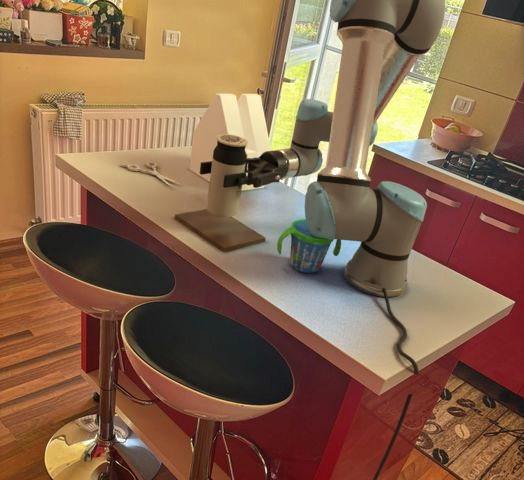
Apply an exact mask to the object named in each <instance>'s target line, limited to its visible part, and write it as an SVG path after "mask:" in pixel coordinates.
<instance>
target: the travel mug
mask: <svg viewBox="0 0 524 480" xmlns="http://www.w3.org/2000/svg"><path fill="white" fill-rule="evenodd" d="M216 139H217V146H216V147H215V149H214V151H213V159H212V168H211V176H210V182H209V186H208V194H207V202H206V209H207V210H208V211H209V212H210V213H212V214H214V215H216V216H220V217H235V216H237V215H238V213H239V208H240V201H241V195H242V191H241V189H242V185H239V186H233V187H228V188H224V187H223V183H224V176H225V175H231V174H237V173H244V170H245V164H246V158H247V155H246V152H245V148H246V145H247V144H248V142H247V140H245V139H244V138H242V137H239V136H235V135H229V134H221V135H218V136H217V137H216Z"/></svg>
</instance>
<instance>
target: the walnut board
mask: <svg viewBox="0 0 524 480" xmlns="http://www.w3.org/2000/svg"><path fill="white" fill-rule="evenodd" d="M174 219H175V220H176V221H178V222H179V223H180V224H181V225H183V226H185V227H186V228H188V229H189V230H191V231H192V232H194V233H195V234H197V235H198V236H199V237H202V238H203V239H204V240H206V241H207V242H209V243H210V244H212V245H213V246H214V247H215V248H217V249H219V250H221V251H222V252H223V253H224V252H228V251H233V250H236V249H237V250H238V249H242V248H245V247H249V246H254V245H257V244H261V243H264V242H266V236H264V235H262V234H261V233H259V232H257V231H256V230H254V229H252V228H251V227H249V226H248V225H246V224H244V223H243V222H241V221H240V220H238V219H236V218H234V216H232V217H220V216H216V215H214V214H212V213H210V212H209V211H208V210H207V208H203V209H198V210H192V211H187V212H182V213H175V214H174Z"/></svg>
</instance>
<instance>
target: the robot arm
mask: <svg viewBox="0 0 524 480" xmlns="http://www.w3.org/2000/svg"><path fill="white" fill-rule="evenodd" d="M445 14H446V0H330V7H329V18H330V20H331V21H333V22H334V23H337V30H336V36H337V37H338V39H339V40H340V41H341V43H342V46H341V47H342V48H341V56H340V61H339V68H338V69H339V70H338V76H337V83H336V90H335V96H334V97H335V98H334V105H333V111H329V107H328V104H327V103H325V102H323V101H321V100H318V99H315V98H314V99H313V98H304V99H302V100H301V101H300V103H299V105H298V108H297V113H296V116H295V122H294V127H293V132H292V137H291V142H290V145H289V146H290V147H289V148H281V149H275V150H271V151H266V152H264V153H263V154H262V155H261V156H260V157H259V158H246V164H245V170H244V173H237V174H231V175H225V176H224V183H223V187H224V188H228V187H233V186H239V185H244V184H246V185H253V187H255V188H257V189H259V188H258V187H261V186H264V185H265V186H266V185H267V186H268V185H270V184H273V183H279V182H280V181H283V180H286V179H290V178H296V177H306V176H309V175H312V174H315V173H316V172H318V171H319V170H320V169H321V168H322V165H323V160H324V159H323V153H322V151H321V149H320V148H319V146H320V143H321V142H324V143H325V142H326V143H328V149H327V155H326V162H325V166H324V168H322V169H321V170H320V171H319V172H318V173H317V176H316V180H314V181H312V182H310V183H309V184H308V186H307V189H306V192H305V196H304V216H305V217H304V218H305V219H306V223H307V226H308V229H309V231H310V232H311V233H312V234H313V235H314V236H316V237H321V238H328V239H330V240H333V239H334V240H337V239H338V240H341V241H349V242H350V241H351V242H359V243H360V244H359V246H358V248H357V250H356V251H355V252H354V253H353V255H352V258H351V259H349V261H347V263H346V265H345V268H344V271H343V276H344V278H345V280H346V282H348V284H350V285H351V286H352V287H354V288H355V289H356V290H359V291H361V292H363V293H366V294H368V295H373V296H376V297H381V298H384V301H385V306H386V310H387V313H388V316H389V317H390V319H391V320H392V321H393V322H394V323H395V324H396V325H397V326H398V327H399V328H400V330H401V332H402V337H401V338H400V339H399V341H398V342H397V345H396V349H397V352H398V354H399V355H400V356H401V357H403V358H404V359H406V360H407V361H409V363H411V365H412V367H413V371H414V372H413V373H414V374H415V375H416V376H419V375H420V371H419V367H418V363H417V362H416V361H415V359H414V358H413V357H411V356H410V355H408V354H407V353H406V352H404V351H403V350H402V345H403V344H404V342H405V340H406V339H407V337H408V332H407V329H406V327H405V326H404V324H403V323H402V322H401V321H400V320H399V319H398V318H397V317H396V316H395V315H394V313H393V311H392V308H391V303H390V299H389V298H394V297H398V296H401V295H402V294H403V293H404V292H405V290H406V287H407V285H408V260H409V257H410V254H411V252H412V250H413V246H414V244H415V241H416V239H417V237H418V236H417V235H418V234H419V231H420V228H421V225H422V222H424V219H425V215H426V211H427V208H428V203H427V201H426V199H425V197H424V196H423V195H421V194H420V193H419V192H417V191H415V190H414V189H412V188H409V187H408V186H405V185H403V184H400V183H397V182H394V181H388V180H384V181H381V182H380V183H378V185H377V187H376V188H377V189H374V188H371V182H372V179H371V177H370V176H369V175H368V173H367V172H366V171H367V170H366V168H367V162H368V156H369V151H370V150H369V149H370V147H371V146H372V145H373V144H374V143H375V141H376V137H377V135H378V128H379V126H378V122H377V121H378V119H379V118H380V117H381V115H382V113H383V112H384V111H385V109H386V108H387V106H388V104H389V103H390V101H391V100H392V98H393V97H394V95H395V94H396V92H397V91H398V90H399V88H400V86H401V85H402V84H403V82H404V81H405V79H406V78H407V76H408V74H409V73H410V71H412V69H413V67H414V66H415V64H416V62H417V61H418V59H419V57H420V56H423V55H424V56H425V55H426V54H427V53H428V52H429V51H430V50H431V48H432V47H433V45H434V44H435V43H436V41H437V39H438V37H439V35H440V33H441V30H442V27H443V24H444V19H445ZM246 155H247V154H246ZM247 165H248V167H247ZM211 168H212V161H209V162H201V166H200V174H201V175H203V174H210V173H211ZM247 168H248V169H247ZM247 173H248V175H247V176H246V174H247ZM334 240H333V241H334ZM413 395H414V393H408V394H407V396H406V399H405V403H404V406H403V408H402V411H401V414H400V417H399V419H398V422H397V425H396V427H395V429H394V432H393V434H392V437H391V439H390V442H389V443H388V446H387V448H386V451H385V452H384V455H383V457H382V458H381V461H380V464H379V466H378V468H377V470H376V472H375V474H374V476H373V479H372V480H378V478H379V476H380V474H381V472H382V470H383V468H384V466H385V464H386V461H387V459H388V457H389V455H390V453H391V451H392V449H393V447H394V444H395V442H396V439H397V437H398V435H399V433H400V430H401V427H402V425H403V422H404V420H405V417H406V415H407V412H408V409H409V407H410V404H411V400H412V397H413Z"/></svg>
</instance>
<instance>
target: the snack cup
mask: <svg viewBox="0 0 524 480" xmlns="http://www.w3.org/2000/svg"><path fill="white" fill-rule="evenodd" d="M289 236H290V238H291V240H290V253H289V264H290V266H291V267H293V269H295V270H297V271H299V272H301V273H305V274H310V273H317V272H318V271H319V270H320V269H321V267H322V265H323V263H324V261H325V259H326V255H327V254H328V251H329V249H330V246H331V245H332V243H333V242H334V241H335V239H333V240H330V239H328V238H321V237H316V236H314V235H313V234H312V233H311V232H310V231H309V229H308V226H307V223H306V218H301V219H296V220H293V222H292V223H291V225H290V226H289V227H287V228H286V229H285V230H284V231H282V233H281V234H280V236H279V237H278V240H277V243H276V249H277V253H278V255H282V248H283V241H284V239H286V238H287V237H289ZM341 248H342V240H338V239H336V242H335V246H334V248H333V251H332V254H333V256H334V257H338V256H339V254H340V252H341Z"/></svg>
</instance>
